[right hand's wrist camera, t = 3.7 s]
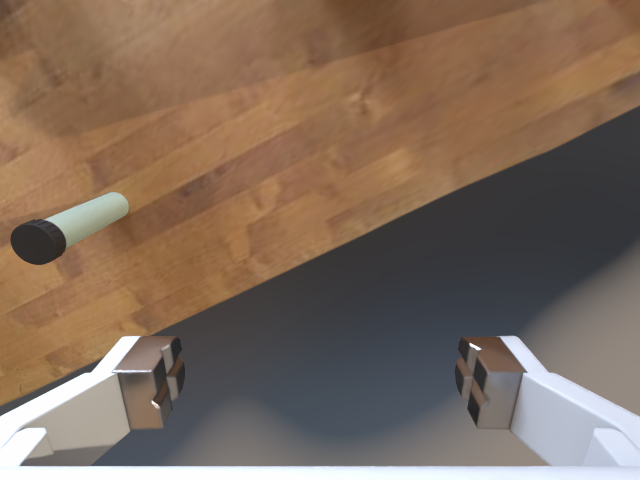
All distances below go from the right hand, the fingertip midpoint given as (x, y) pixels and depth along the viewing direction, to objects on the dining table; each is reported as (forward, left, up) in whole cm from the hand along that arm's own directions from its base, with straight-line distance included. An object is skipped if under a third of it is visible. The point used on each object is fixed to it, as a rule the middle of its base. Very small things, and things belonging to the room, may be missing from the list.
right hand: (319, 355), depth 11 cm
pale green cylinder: (+8, -33, -48) cm, 59 cm away
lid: (+8, -33, -30) cm, 45 cm away
